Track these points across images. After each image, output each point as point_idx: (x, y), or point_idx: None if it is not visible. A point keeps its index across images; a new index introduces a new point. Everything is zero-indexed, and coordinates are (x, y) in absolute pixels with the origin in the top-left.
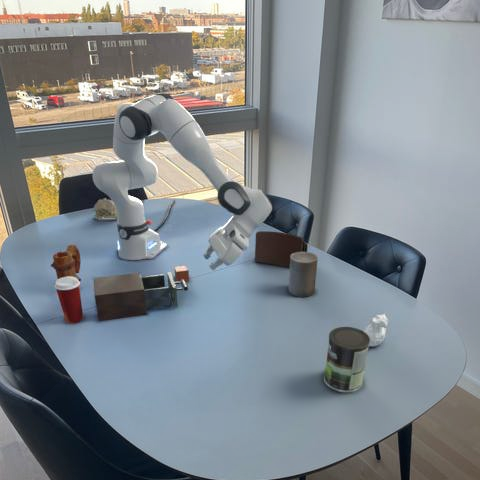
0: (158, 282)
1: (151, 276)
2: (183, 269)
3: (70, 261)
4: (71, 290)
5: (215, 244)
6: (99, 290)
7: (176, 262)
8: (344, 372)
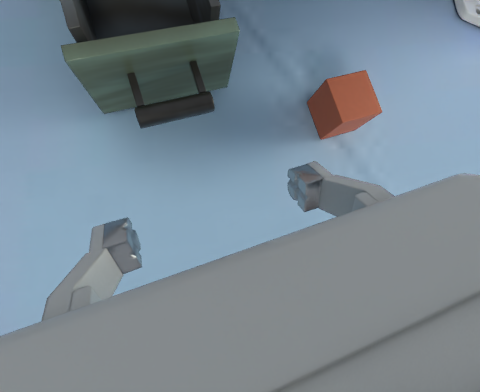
0: (201, 9)
1: None
2: (347, 103)
3: None
4: None
5: (321, 263)
6: None
7: (447, 91)
8: None
